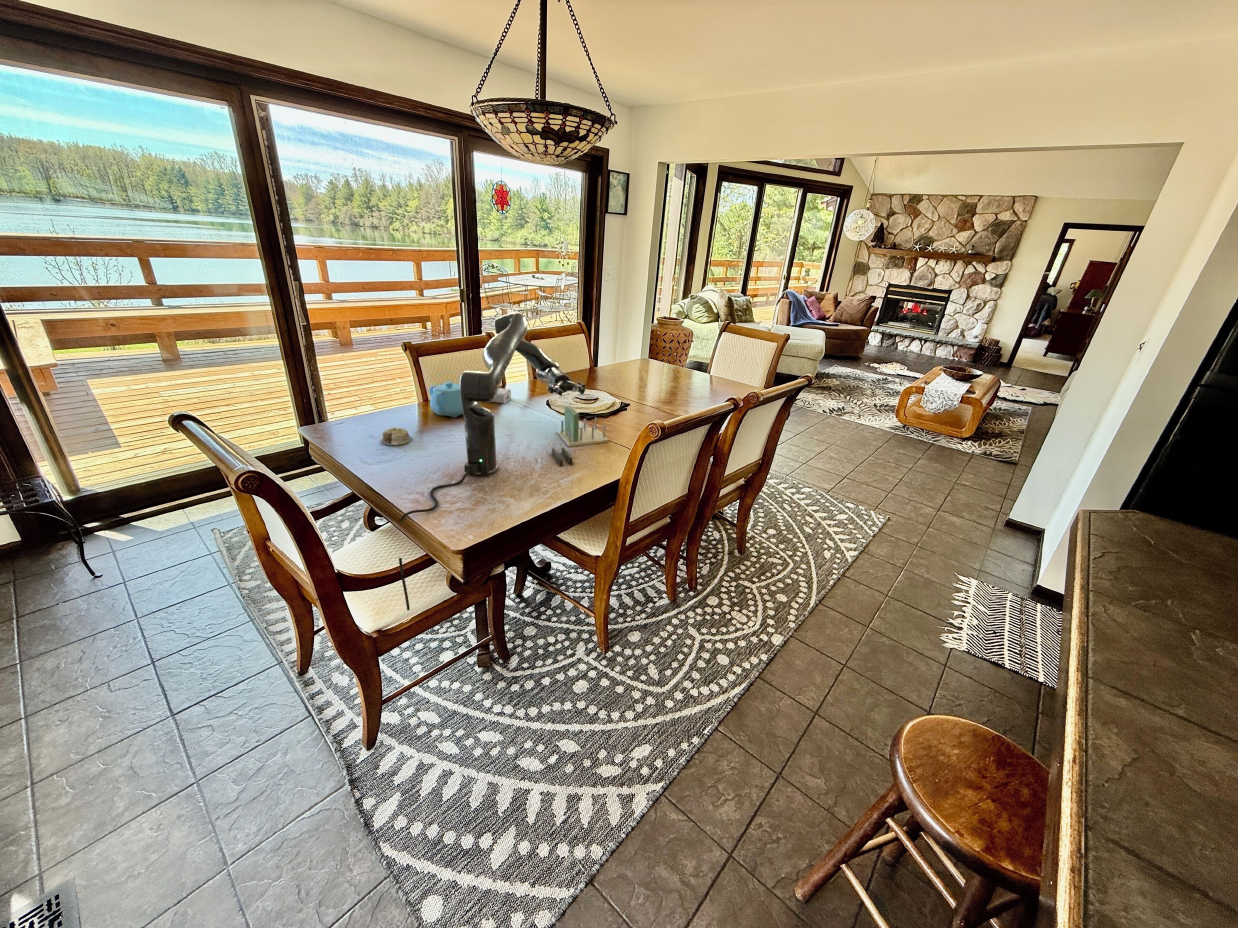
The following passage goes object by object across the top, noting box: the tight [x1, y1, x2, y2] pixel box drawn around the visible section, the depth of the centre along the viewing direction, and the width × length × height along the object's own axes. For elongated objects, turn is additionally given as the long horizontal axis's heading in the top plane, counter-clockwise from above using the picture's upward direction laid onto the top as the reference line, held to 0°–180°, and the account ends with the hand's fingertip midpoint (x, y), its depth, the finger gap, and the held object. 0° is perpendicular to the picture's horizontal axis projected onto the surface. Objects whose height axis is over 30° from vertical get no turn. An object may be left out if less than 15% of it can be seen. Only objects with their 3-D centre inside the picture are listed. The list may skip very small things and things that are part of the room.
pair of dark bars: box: [551, 446, 573, 467], centre depth 171 cm, size 10×4×2 cm, turn 24°
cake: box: [381, 427, 412, 446], centre depth 176 cm, size 10×10×5 cm
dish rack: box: [557, 417, 610, 447], centre depth 190 cm, size 14×16×6 cm
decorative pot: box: [428, 381, 463, 418], centre depth 204 cm, size 16×16×14 cm
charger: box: [490, 387, 512, 404], centre depth 225 cm, size 5×9×15 cm
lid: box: [563, 404, 580, 442], centre depth 186 cm, size 11×2×11 cm, turn 24°
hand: (572, 392), depth 181 cm, fingers open, 8 cm apart
